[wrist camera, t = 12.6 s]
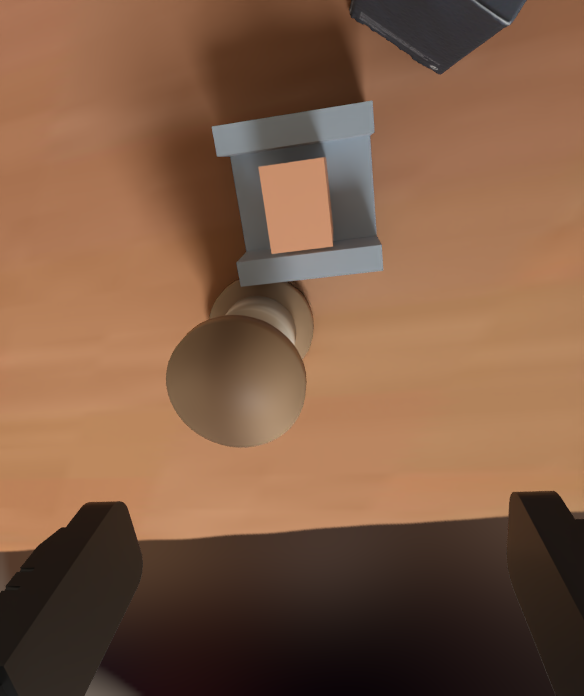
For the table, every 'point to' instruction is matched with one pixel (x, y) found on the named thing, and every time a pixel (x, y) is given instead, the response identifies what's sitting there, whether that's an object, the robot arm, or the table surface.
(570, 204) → the table surface
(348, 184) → the grey channel bracket
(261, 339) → the bobbin
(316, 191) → the tan rectangular block
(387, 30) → the small box
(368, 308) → the table surface
